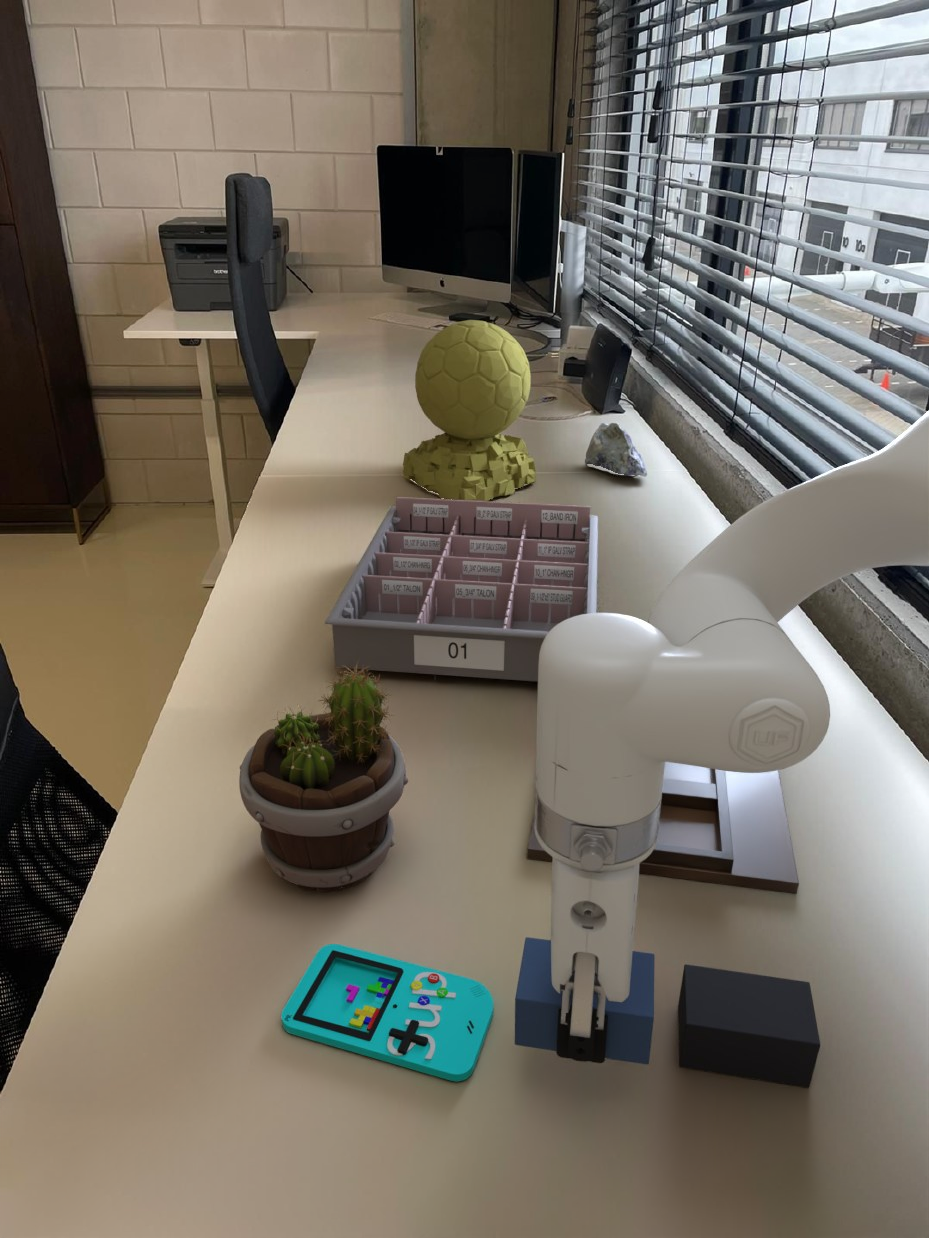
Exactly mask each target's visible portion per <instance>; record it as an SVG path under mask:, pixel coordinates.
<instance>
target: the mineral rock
mask: <svg viewBox="0 0 929 1238" xmlns="http://www.w3.org/2000/svg"><path fill="white" fill-rule="evenodd" d="M585 463H586V464H593V465H595V466H601V467H603V468H606V469H608V470H611V471H613V472H615V473H618V474H624V475H625V476H627V475H640V476H639V477H644V478H645V477H648V470H647V468H646V466H645V463H644V458H643V457H642V455H641V453H639V451H638V450H637V449H636V446H635V445H634V443H633V441H632V438H631V436H630V435H629V434H628V432H627V431H626V430H625V429H624V428H623V427H621V426H620V424H619V423H618V422H610V423H609V424H608V423H605V422H602V423H601V424H599V426H598V428H597V429H596V430H595V431H594V433H593V435H592V437H591V439H590V441H589V444H588V447H587V449H586V452H585V459H584V464H585Z"/></svg>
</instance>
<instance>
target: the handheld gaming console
mask: <svg viewBox="0 0 929 1238" xmlns="http://www.w3.org/2000/svg"><path fill="white" fill-rule="evenodd" d="M493 1015H494V999H493V996H492V994H491V992H490V990H489V989H488V988H487V987H486V986H485V985H484V984H482V983H481V982H480V981H478V980H475V979H473V978H470V977H466V976H463V975H458V974H454V973H450V972H448V971H447V972H446V971H442V970H438V969H435V968H431V967H427V966H423V965H420V964H416V963H413V962H408V961H405V960H400V959H398V958H397V959H396V958H393V957H390V956H385V955H382V954H379V953H373V952H370V951H366V950H362V949H358V948H354V947H350V946H348V945H347V946H346V945H343V944H339V943H329V944H326V945H323V946H322V947H321V948H319V950H318V951H317V952H316V953H315V955H314V957H313V959H312V961H311V962H310V963H309V965H308V967H307V969H306V971H305V972H304V974H303V975H302V977H301V979H300V980H299V982H298V983H297V986H296V987H295V989H294V991H293V992H292V993H291V996H290V997H289V999H288V1001H287V1002H286V1004H285V1006H284V1007H283V1009H282V1011H281V1024H282V1028H283V1029H284V1031H285V1032H287V1033H289V1034H291V1035H294V1036H297V1037H300V1038H304V1039H306V1040H307V1039H308V1040H311V1041H314V1042H317V1043H321V1044H323V1045H324V1044H325V1045H327V1046H331V1047H335V1048H337V1049H341V1050H344V1051H348V1052H352V1053H356V1054H359V1055H362V1056H365V1057H369V1058H371V1059H376V1060H379V1061H382V1062H386V1063H388V1064H393V1065H396V1066H400V1067H403V1068H407V1069H410V1070H413V1071H416V1072H420V1073H423V1074H427V1075H431V1076H434V1077H436V1078H441V1079H443V1080H447V1081H450V1082H451V1081H452V1082H462V1081H465V1080H468V1078H469V1077H471V1076H472V1074H473V1072H474V1071H475V1068H476V1065H477V1062H478V1059H479V1056H480V1053H481V1050H482V1048H483V1045H484V1043H485V1040H486V1037H487V1034H488V1032H489V1028H490V1025H491V1023H492V1020H493Z"/></svg>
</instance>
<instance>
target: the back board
mask: <svg viewBox="0 0 929 1238" xmlns="http://www.w3.org/2000/svg"><path fill="white" fill-rule="evenodd" d="M781 782H782V781H781V777H780V770H777V771H771V772H763V773H741V772H731V771H723V770H717V769H711V768H705V767H699V766H693V765H686V764H679V763H673V762H666V761H665V768H664V778H663V787H662V800H661V810H660V819H659V829H658V839H657V843H656V846H655V848H654V850H653V851H652V853H651V854H650V855H649V856H648V857H647V858H646V859H645V860H643V861H642V862H640V863H639V874H642V875H643V874H644V875H649V876H650V875H651V876H658V877H666V878H674V879H683V880H689V881H697V882H706V883H713V884H721V885H728V886H736V887H744V888H750V889H751V888H752V889H759V890H766V891H774V892H782V893H790V894H797V893H798V890H799V885H800V881H799V876H798V871H797V865H796V859H795V854H794V849H793V843H792V838H791V832H790V826H789V821H788V814H787V810H786V805H785V800H784V793H783V788H782V783H781ZM552 858H553V857H552V856H551V855H549V854H548V853H547V852H546V851H545V850H544V849H543V848H542V847H541V845H540V843H539V842H538V840H537V837H536V835H535V810H534V813H533V818H532V823H531V827H530V832H529V838H528V843H527V849H526V859H528V860H536V861H542V862H544V861H545V862H551V863H552Z"/></svg>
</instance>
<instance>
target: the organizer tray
mask: <svg viewBox="0 0 929 1238" xmlns="http://www.w3.org/2000/svg"><path fill="white" fill-rule="evenodd" d="M394 500H395V505H390V507H389V509H388V511H387V512H386V514H385V516H384V518H383V519H382V521H381V523H380V525H378V526H379V527H378V528H377V530H376V532H375V533H374V535H373V537H372V539H371V541H370V542H369V543H368V545H367V548H365V551H364V553H363V555H362V556H361V558H360V560H359V562H358V563H357V565H356V567H355V568H354V570H353V572H352V574H351V575H350V577H349V579H348V581H347V583H346V585H345V586H344V588H343V590H342V592H341V594H339V596H338V599H336V602H335V604H334V606H332V607H333V608H332V609H331V611H330V613H329V615H328V616H327V618H326V620H325V621H324V624H325V625H328V626H331V627H332V629H331V630H332V641H333V642H332V644H333V659H334V668H338V669H346V668H345V667H344V666H346V667H347V666H348V668H349V669H353V670H354V668H355V666H356V663H357V661H358V660H359V659H360V660H359V662H358V664H357V670H362V667H363V669H364V668H366V667H368V668H366V669H364V670H365V671H366V670H368V669H370V670H368V671H381V672H396V673H411V674H425V675H434V680H436V679H437V677H436V675H438V676H455V677H469V678H482V679H483V678H484V679H497V680H512V681H525V682H526V681H527V682H538V665H539V653H540V649H541V645H542V643H543V641H544V639H545V637H546V635H547V634H548V633H549V632H550V631H551V630H552V628H553V627H555V626H556V625H557V624H559V623H561V622H562V621H564V620H566V619H569V618H571V617H574V616H578V615H582V614H588V613H598V561H599V560H598V559H599V558H598V553H599V552H598V550H599V516H598V515H594V514H591V509H592V508H591V506H590V505H573V504H572V505H571V504H570V505H569V504H549V503H533V502H532V503H531V502H530V503H529V502H526V503H525V502H512V501H511V502H507V501H491V500H488V501H469V500H449V499H440V498H427V497H426V498H425V497H407V496H404V497H403V496H395V499H394ZM363 664H364V665H363ZM342 665H343V666H342ZM369 666H370V667H369Z"/></svg>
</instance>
